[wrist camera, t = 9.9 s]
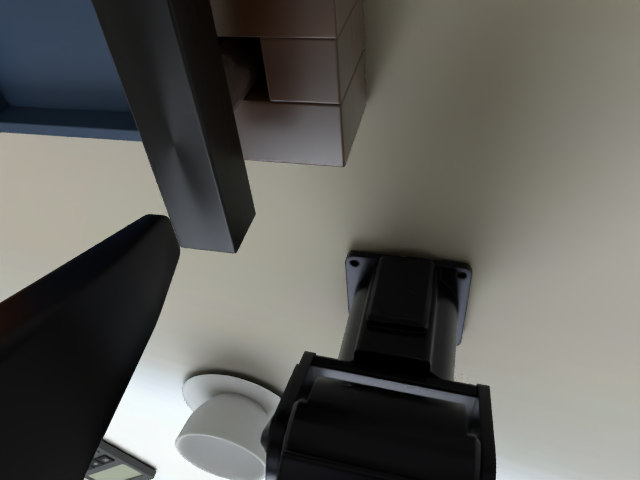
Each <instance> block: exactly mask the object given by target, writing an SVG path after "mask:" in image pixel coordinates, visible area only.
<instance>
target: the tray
mask: <svg viewBox="0 0 640 480" xmlns="http://www.w3.org/2000/svg"><path fill="white" fill-rule="evenodd" d="M0 132H6V133H21V134H36V135H52V136H67V137H82V138H97V139H112V140H127V141H142V140H141V137H140V134H139V131H138V129H137V126H136V123H135V120H134V118H133V115H132V112H131V109H130V106H129V104H128V101H127V98H126V95H125V93H124V90H123V87H122V84H121V82H120V79H119V76H118V73H117V71H116V68H115V65H114V62H113V59H112V57H111V54H110V51H109V48H108V46H107V43H106V40H105V37H104V35H103V32H102V29H101V26H100V24H99V21H98V18H97V15H96V12H95V10H94V7H93V4H92V1H91V0H0Z"/></svg>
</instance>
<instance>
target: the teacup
mask: <svg viewBox="0 0 640 480" xmlns="http://www.w3.org/2000/svg"><path fill="white" fill-rule="evenodd" d="M182 395H183V398H184V400H185V402H186V404H187V405H188V406H189V407H190V409H191V410H192V411H193V413H192V415H191V416H190V417H189V419H188V420H187V422H186V424H185V425H184V427H183V429H182V431H181V432H180V434H179V435H178V437H177V439H176V442H175V445H176V448H177V450H178V452H179V453H180V454H181V455H182V456H183V457H184V458H185V459H186V460H187V461H189V462H190V463H192V464H193V465H195V466H197V467H198V468H200V469H202V470H204V471H206V472H209V473H211V474H214V475H216V476H219V477H223V478H226V479H230V480H261V479H263V478H265V468H266V453H265V451H264V449H263V447H262V445H261V443H260V440H261V435H262V432H263V430H264V428H265V427H266V425H267V424H268V422H269V421H270V419H271V418H272V416H273V415H274V413H275V411H276V409H277V406H278V404H279V402H280V400H281V398H280V397H279V396H277V395H276V394H274V393H273V392H271V391H269V390H267V389H265V388H263V387H261V386H259V385H257V384H255V383H252V382H249V381H246V380H243V379H240V378H236V377H232V376H226V375H218V374H205V375H199V376H195V377H192V378H190V379H189V380H187V381H186V382H185V383H184V385H183V387H182Z"/></svg>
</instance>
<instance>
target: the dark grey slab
mask: <svg viewBox="0 0 640 480" xmlns="http://www.w3.org/2000/svg"><path fill="white" fill-rule="evenodd" d="M91 1H92V4H93V7H94V10H95V12H96V15H97V18H98V21H99V24H100V26H101V29H102V32H103V35H104V37H105V40H106V43H107V46H108V48H109V51H110V54H111V57H112V59H113V62H114V65H115V68H116V71H117V73H118V76H119V79H120V82H121V84H122V87H123V90H124V93H125V95H126V98H127V101H128V104H129V106H130V109H131V112H132V115H133V118H134V120H135V123H136V126H137V129H138V131H139V134H140V137H141V140H142V142H143V145H144V148H145V151H146V153H147V156H148V159H149V162H150V165H151V167H152V170H153V173H154V176H155V178H156V181H157V184H158V187H159V189H160V192H161V195H162V198H163V200H164V203H165V206H166V209H167V212H168V214H169V217H170V220H171V223H172V225H173V228H174V231H175V234H176V236H177V239H178V242H179V245H180V246H181V247H183V248H191V249H200V250H209V251H217V252H226V253H237V251H238V249H239V247H240V245H241V243H242V241H243V239H244V237H245V235H246V233H247V231H248V229H249V227H250V225H251V223H252V221H253V219H254V217H255V214H256V213H255V209H254V204H253V199H252V195H251V190H250V185H249V181H248V176H247V171H246V167H245V162H244V157H243V153H242V148H241V144H240V139H239V134H238V130H237V125H236V120H235V116H234V112H235V111H236V109H237V108H238V106H239V105H240V103H241V102H242V100H243V99H244V97H245V96H246V95H247V93H248V92H249V90H250V89H251V87H252V86H253V84H254V83H255V81H256V80H257V78H258V77H259V76H260V74H261V73H262V71H263V70H264V61H263V55H262V49H261V43H260V38H261V37H227V38H226V39H225V40H224V41H223V43H222V44H221V45H220V46H219V41H218V37H217V32H216V28H215V23H214V18H213V14H212V9H211V4H210V0H91Z"/></svg>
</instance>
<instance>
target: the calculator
mask: <svg viewBox="0 0 640 480" xmlns="http://www.w3.org/2000/svg"><path fill="white" fill-rule="evenodd" d="M155 473H156V471H155V470H153V469H152V468H150V467H148V466H146V465H144V464H143V463H141V462H139V461H137V460H136V459H134V458H132V457H130V456H128V455H127V454H125V453H123V452H121V451H119V450H118V449H116V448H114V447H112V446H111V445H109V444H107V443H105V442H103V441H101V443H100V445H99V448H98V450H97V452H96V454H95V456H94V458H93V460H92V463H91V465H90V467H89V469H88V471H87V473H86V475H85V478H87V479H89V480H150V479H153V478H154V476H155Z"/></svg>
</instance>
